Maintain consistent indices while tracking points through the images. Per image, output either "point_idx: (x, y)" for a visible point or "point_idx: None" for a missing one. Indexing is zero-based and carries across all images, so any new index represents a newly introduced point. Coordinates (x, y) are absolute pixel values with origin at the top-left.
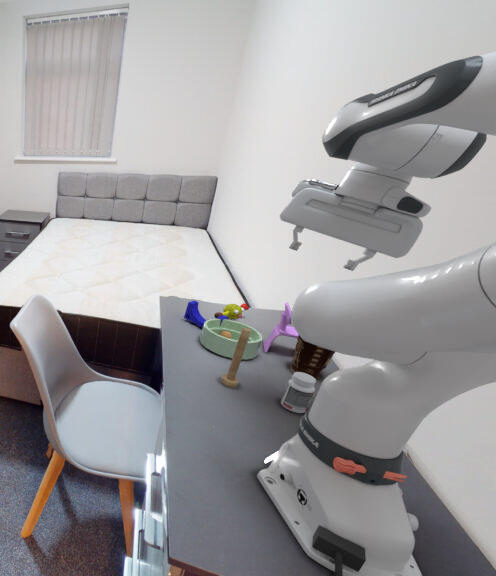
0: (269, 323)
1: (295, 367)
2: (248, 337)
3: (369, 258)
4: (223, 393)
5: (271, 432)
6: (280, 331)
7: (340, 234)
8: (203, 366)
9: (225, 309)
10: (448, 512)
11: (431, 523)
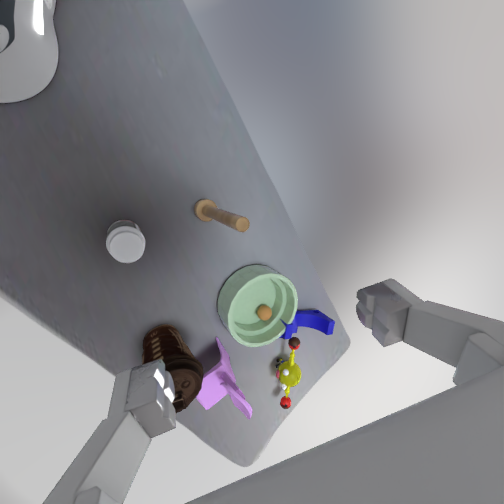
0: None
1: (171, 329)
2: (230, 221)
3: (59, 484)
4: (195, 176)
5: (106, 136)
6: (222, 366)
7: (334, 491)
8: None
9: (296, 365)
10: None
11: None
